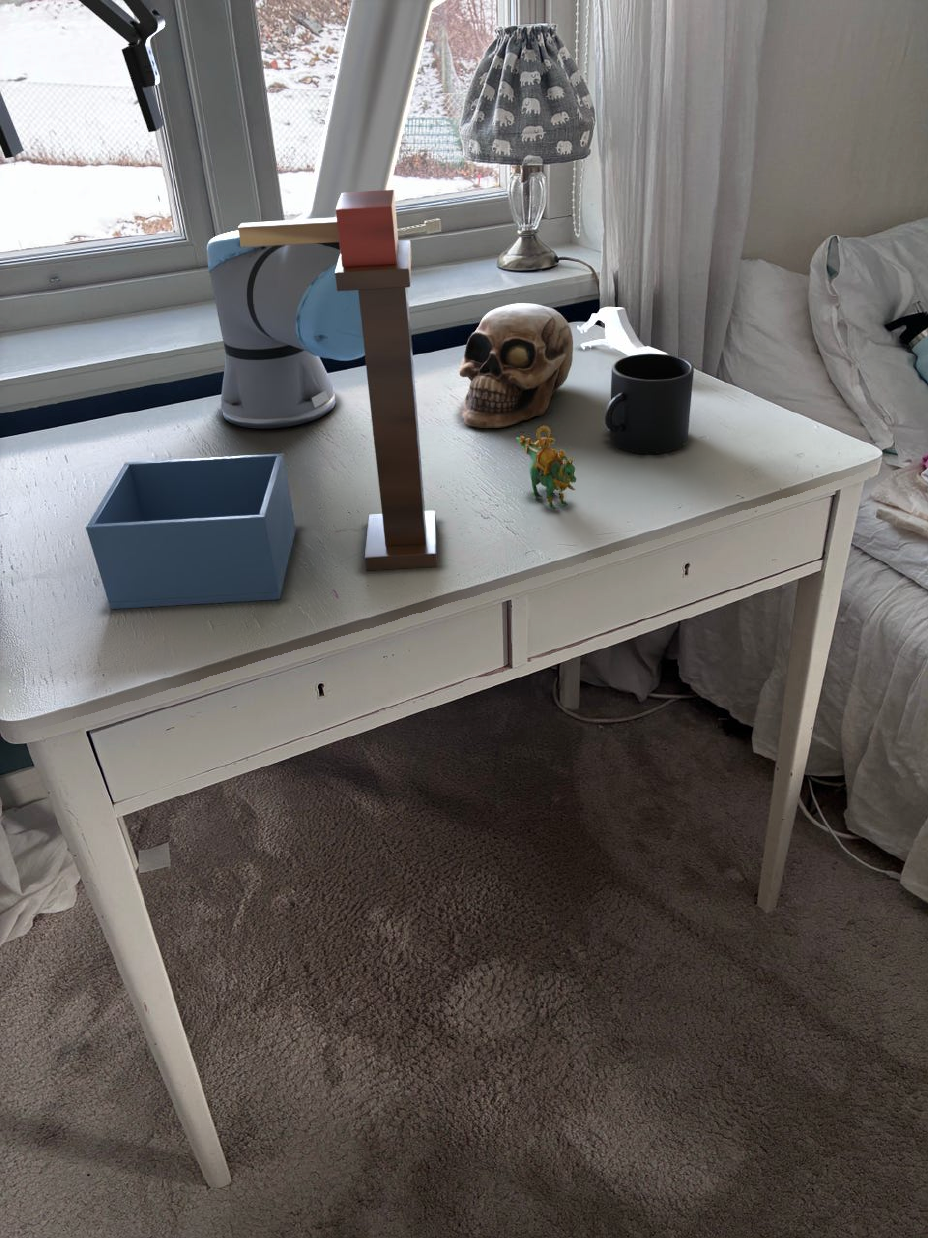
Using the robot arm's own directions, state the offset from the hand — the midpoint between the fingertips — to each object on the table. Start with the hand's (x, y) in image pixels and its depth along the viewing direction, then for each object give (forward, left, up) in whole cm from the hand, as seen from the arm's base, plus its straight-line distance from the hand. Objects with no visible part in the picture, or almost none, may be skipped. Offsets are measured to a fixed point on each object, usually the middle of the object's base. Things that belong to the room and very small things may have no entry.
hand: (85, 141), depth 87 cm
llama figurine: (-37, +57, -37) cm, 77 cm away
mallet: (+13, +22, -8) cm, 27 cm away
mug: (-9, +55, -37) cm, 67 cm away
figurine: (+4, +42, -37) cm, 56 cm away
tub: (+15, +7, -37) cm, 40 cm away
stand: (+13, +26, -37) cm, 47 cm away
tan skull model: (-24, +41, -37) cm, 60 cm away
